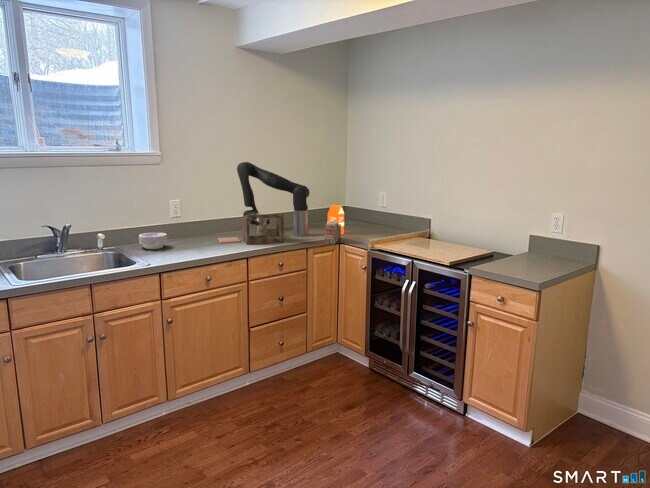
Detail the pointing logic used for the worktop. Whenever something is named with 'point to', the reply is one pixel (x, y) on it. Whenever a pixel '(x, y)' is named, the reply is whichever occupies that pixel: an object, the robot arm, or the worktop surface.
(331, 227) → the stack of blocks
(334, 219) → the orange juice
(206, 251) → the worktop surface
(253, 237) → the walnut bay
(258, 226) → the maple block
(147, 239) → the paper bowls
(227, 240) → the terracotta tile
